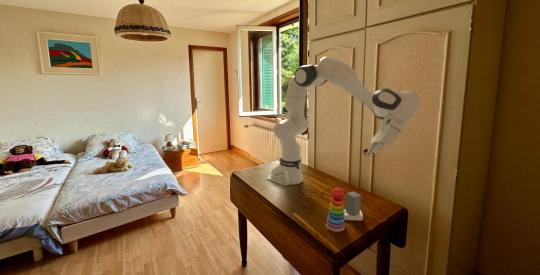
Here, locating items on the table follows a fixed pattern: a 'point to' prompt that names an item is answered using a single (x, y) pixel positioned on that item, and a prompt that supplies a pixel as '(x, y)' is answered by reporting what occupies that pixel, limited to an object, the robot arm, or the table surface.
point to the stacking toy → (336, 211)
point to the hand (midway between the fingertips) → (371, 152)
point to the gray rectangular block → (353, 203)
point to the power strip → (350, 217)
